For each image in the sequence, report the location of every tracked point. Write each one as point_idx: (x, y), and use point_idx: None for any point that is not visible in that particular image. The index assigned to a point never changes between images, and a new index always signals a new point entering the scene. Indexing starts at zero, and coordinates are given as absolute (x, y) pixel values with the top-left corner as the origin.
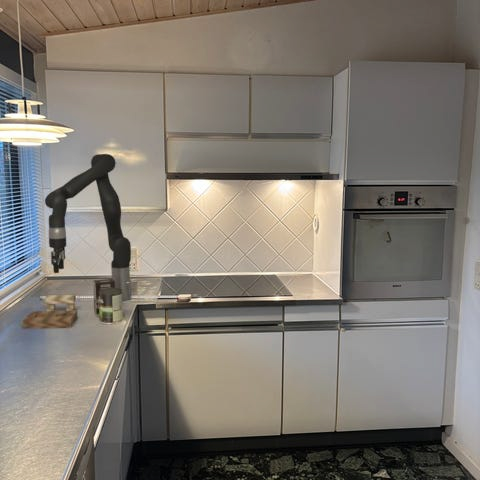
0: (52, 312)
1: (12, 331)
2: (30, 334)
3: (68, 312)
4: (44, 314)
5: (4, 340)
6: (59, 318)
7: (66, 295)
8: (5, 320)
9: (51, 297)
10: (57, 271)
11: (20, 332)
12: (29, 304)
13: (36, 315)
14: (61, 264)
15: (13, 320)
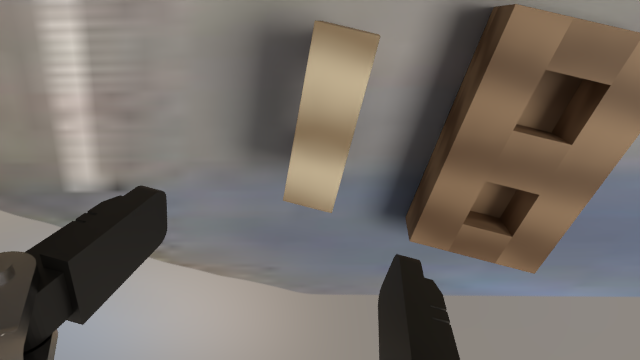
0: (478, 156)
1: (526, 276)
2: (615, 223)
3: (531, 66)
4: (478, 190)
5: (624, 296)
6: (634, 119)
7: (314, 90)
8: (374, 292)
9: (338, 180)
10: (428, 284)
11: (558, 254)
12: (188, 227)
13: (466, 221)
14: (119, 250)
15: (385, 272)
